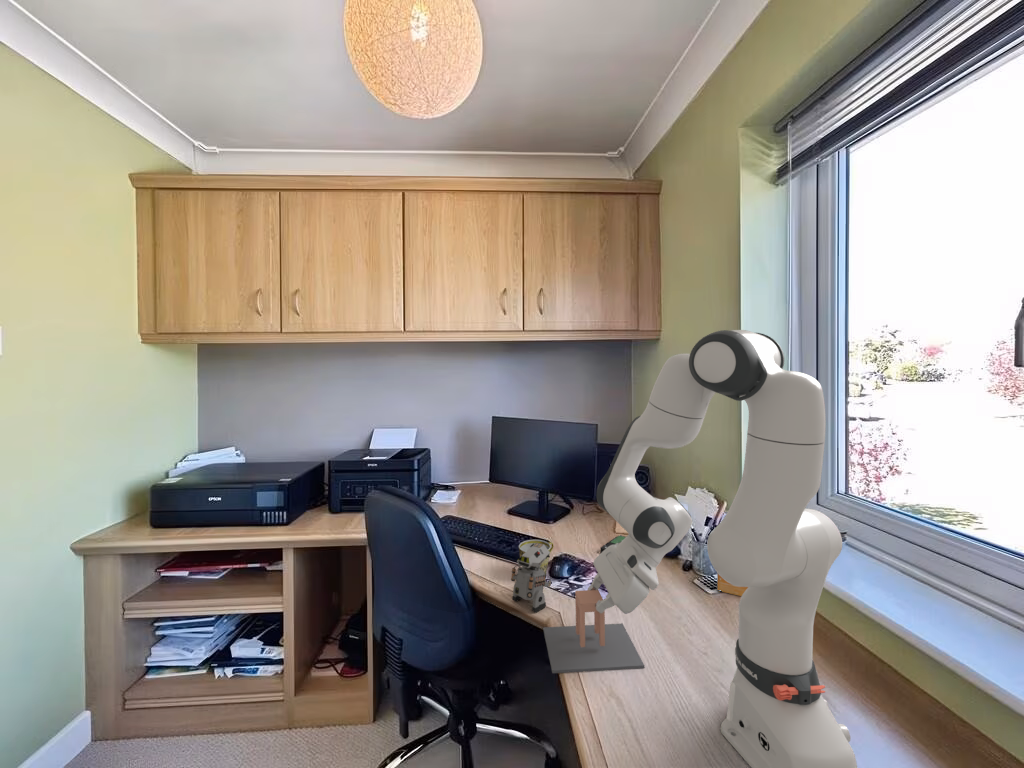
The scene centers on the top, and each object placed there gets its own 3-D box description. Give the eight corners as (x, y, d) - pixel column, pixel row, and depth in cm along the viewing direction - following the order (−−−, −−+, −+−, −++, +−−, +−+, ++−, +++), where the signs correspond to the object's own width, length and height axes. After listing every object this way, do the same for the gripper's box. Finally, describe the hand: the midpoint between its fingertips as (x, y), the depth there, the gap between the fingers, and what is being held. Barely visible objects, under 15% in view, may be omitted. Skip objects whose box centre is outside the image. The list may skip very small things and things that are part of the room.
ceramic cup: (534, 589, 124) (533, 556, 124) (512, 577, 132) (511, 545, 131) (564, 575, 132) (564, 543, 132) (542, 564, 140) (542, 534, 140)
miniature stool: (604, 645, 95) (604, 602, 95) (580, 647, 95) (580, 603, 95) (598, 630, 101) (598, 589, 100) (575, 631, 101) (575, 590, 100)
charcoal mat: (644, 668, 91) (644, 665, 91) (552, 673, 90) (552, 670, 90) (622, 625, 106) (622, 623, 106) (543, 629, 105) (543, 627, 105)
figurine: (559, 599, 119) (559, 547, 118) (531, 616, 111) (530, 560, 110) (536, 587, 125) (535, 537, 125) (507, 602, 117) (506, 549, 117)
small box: (717, 591, 121) (717, 547, 121) (718, 581, 127) (718, 538, 126) (749, 598, 117) (749, 552, 117) (749, 588, 123) (749, 544, 122)
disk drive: (628, 564, 141) (645, 548, 152) (628, 555, 140) (645, 540, 152) (600, 555, 147) (618, 541, 159) (600, 547, 147) (618, 533, 158)
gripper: (612, 531, 108) (574, 570, 108) (640, 569, 88) (594, 617, 87) (629, 547, 108) (592, 587, 108) (662, 589, 88) (616, 637, 88)
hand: (593, 601), depth 98 cm, fingers closed on miniature stool, 5 cm apart
